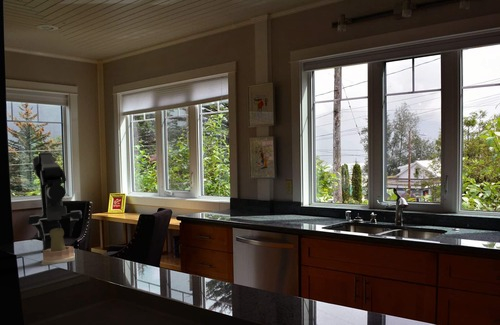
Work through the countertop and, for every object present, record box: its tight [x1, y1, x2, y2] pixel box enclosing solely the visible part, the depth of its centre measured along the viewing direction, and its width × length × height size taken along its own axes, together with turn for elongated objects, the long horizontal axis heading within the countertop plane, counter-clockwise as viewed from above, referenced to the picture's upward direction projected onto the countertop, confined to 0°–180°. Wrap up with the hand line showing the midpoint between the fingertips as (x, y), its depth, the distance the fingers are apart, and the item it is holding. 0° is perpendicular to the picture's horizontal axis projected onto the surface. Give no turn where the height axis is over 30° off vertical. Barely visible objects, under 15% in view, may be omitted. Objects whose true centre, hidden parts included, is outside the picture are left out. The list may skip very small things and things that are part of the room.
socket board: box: [41, 245, 76, 266], centre depth 164 cm, size 11×11×4 cm
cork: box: [48, 227, 66, 252], centre depth 164 cm, size 6×6×11 cm
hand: (57, 239), depth 164 cm, fingers open, 9 cm apart
